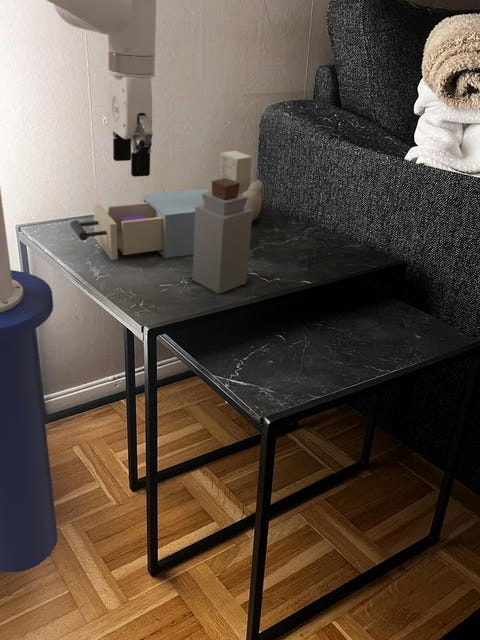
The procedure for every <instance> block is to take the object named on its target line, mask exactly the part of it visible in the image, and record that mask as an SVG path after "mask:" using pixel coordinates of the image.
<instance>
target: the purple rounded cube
mask: <svg viewBox="0 0 480 640" xmlns="http://www.w3.org/2000/svg"><path fill="white" fill-rule="evenodd" d="M138 219H145V218H144V217H143V216H142V215H137V216H127V217H122V221H129V220H138Z"/></svg>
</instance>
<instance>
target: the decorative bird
mask: <svg viewBox="0 0 480 640" xmlns="http://www.w3.org/2000/svg"><path fill="white" fill-rule="evenodd" d="M262 187H263V182H262V181H261V180H260V179H255V180H253V181H251V182H250V186H249V188H247V189H245V190H244V191H242V192H241V193H240V194H241V195H244V196H246V197H248V199H247V202H246V204H245V208H248V209H250V210H252V211H253V214H252V222H253V221H255V220H256V219H257V218H258V216H259V215H260V214H261V212H262V211H263V213H266V210H265V209H264V206H263V203H264V201H263V191H262Z"/></svg>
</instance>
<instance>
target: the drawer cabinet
mask: <svg viewBox="0 0 480 640" xmlns="http://www.w3.org/2000/svg"><path fill="white" fill-rule="evenodd" d="M207 192H211V191H210V190H208V189H207V188H200V189H190V190H179V191H178V190H177V191H168V192H167V191H166V192H157V193H147V194H142V203H143V202H147V203H148V204H149V205H151V206H152V207H153V208H154V209H155V210H156V211H157V212H158V213H159V214H160V215H161V216H162V217H163V218H164V220H163V250H157V253H159V254H160V255H161V257H163V258H164V259H170V258H175V257H176V258H177V257H184V256H190V255H193V253H194V228H195V207H196V206H200V205H204V201H203V197H202V194H203V193H207Z"/></svg>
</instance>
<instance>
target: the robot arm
mask: <svg viewBox="0 0 480 640" xmlns="http://www.w3.org/2000/svg"><path fill="white" fill-rule="evenodd" d="M46 1H47V2H49V3H51V4H53V6H54V9H55V11H56V13H57V15H58V16H59V17H60V18H61V19H62V20H63V21H64V22H65V23H67V24H68V25H70V26H72V27H74V28H78V29H81V30H85V31H90V32H94V33H97V34H98V33H99V34H102V35H107V37H108V38H107V40H108V41H107V43H108V45H107V46H108V50H107V51H108V74H109V75H110V78H109V88H108V89H109V90H108V115H107V116H108V117H107V121H108V122H107V123H108V128H109V129H110V130H111V131H112V138H113V139H112V142H113V143H112V147H113V148H112V151H113V152H112V155H113V157H112V159H113V161H115V162H128V161H130V175H131V176H132V177H134V178H135V177H149V176H150V175H151V153H152V146H153V144H152V143H153V142H152V140H153V135H154V133H153V91H152V89H153V88H152V78H155V74H156V73H155V71H156V70H155V69H156V68H155V67H156V31H157V30H156V27H157V24H156V23H157V0H46ZM138 141H139V142H138ZM132 151H133V152H132ZM3 206H4V205H3V199H2V189H1V187H0V313H1V312H4V311H7V310H9V309H11V308H13V307H14V306H16V305H17V304H18V303H19V302H20V301H21V300H22V298H23V294H24V293H23V287H22V286H21V284H19V283H18V282H17V281H15V280H13V279H12V276H11V270H12V269H11V261H10V253H9V244H8V237H7V230H6V220H5V214H4V213H5V212H4V207H3Z"/></svg>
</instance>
